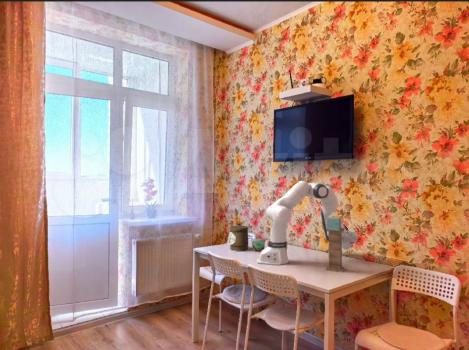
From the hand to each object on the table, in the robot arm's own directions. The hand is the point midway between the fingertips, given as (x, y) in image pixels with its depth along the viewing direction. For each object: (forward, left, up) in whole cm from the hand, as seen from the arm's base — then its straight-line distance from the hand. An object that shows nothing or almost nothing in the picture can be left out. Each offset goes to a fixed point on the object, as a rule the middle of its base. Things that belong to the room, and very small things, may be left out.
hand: (340, 230), depth 225 cm
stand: (-6, -17, -22) cm, 28 cm away
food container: (-57, +28, -22) cm, 67 cm away
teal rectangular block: (-5, -15, +4) cm, 16 cm away
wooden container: (-74, +34, -22) cm, 84 cm away
